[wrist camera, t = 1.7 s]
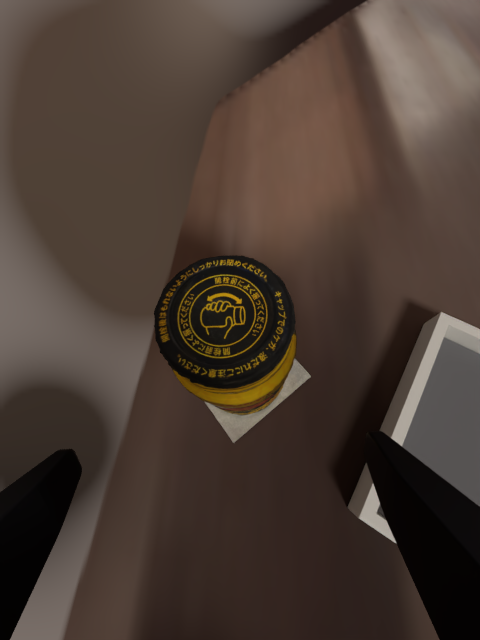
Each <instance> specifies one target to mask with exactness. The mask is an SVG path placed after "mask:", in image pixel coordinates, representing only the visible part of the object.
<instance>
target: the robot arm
mask: <svg viewBox="0 0 480 640" xmlns="http://www.w3.org/2000/svg"><path fill="white" fill-rule="evenodd" d="M364 456H365V460H366V463H367V466H368V469H369V472H370V475H371V478H372V481H373V484H374V487H375V490H376V493H377V496H378V499H379V502H380V505H381V508H382V510H383V513H384V516H385V518H386V521H387V523H388V525H389V528H390V530H391V532H392V534H393V537H394V539H395V541H396V543H397V545H398V548H399V550H400V552H401V554H402V557H403V559H404V561H405V563H406V566H407V568H408V570H409V572H410V575H411V577H412V579H413V581H414V583H415V586H416V588H417V590H418V592H419V595H420V597H421V599H422V601H423V604H424V606H425V608H426V610H427V612H428V615H429V617H430V619H431V621H432V624H433V626H434V628H435V630H436V633H437V635H438V637H439V639H440V640H480V506H478V505H477V504H476V503H475V502H473V501H472V500H471V499H469V498H468V497H467V496H466V495H464V494H463V493H462V492H460V491H459V490H458V489H456V488H455V487H454V486H453V485H451V484H450V483H449V482H447V481H446V480H445V479H444V478H442V477H441V476H440V475H438V474H437V473H436V472H434V471H433V470H432V469H431V468H429V467H428V466H427V465H425V464H424V463H423V462H422V461H420V460H419V459H418V458H416V457H415V456H414V455H412V454H411V453H410V452H409V451H407V450H406V449H405V448H403V447H402V446H401V445H400V444H398V443H397V442H396V441H394V440H393V439H392V438H390V437H389V436H388V435H387V434H385V433H384V432H382V431H369V432H367V434H366V439H365V447H364ZM81 472H82V467H81V464H80V462H79V460H78V458H77V455H76V453H75V451H74V450H72V449H60V450H58V451H56V452H55V453H53V454H52V455H50V456H49V457H48V458H46V459H45V460H44V461H42V462H41V463H39V464H38V465H37V466H36V467H34V468H33V469H31V470H30V471H29V472H27V473H26V474H24V475H23V476H22V477H20V478H19V479H18V480H16V481H15V482H14V483H12V484H11V485H9V486H8V487H7V488H5V489H4V490H3V491H1V492H0V640H10V638H11V636H12V634H13V632H14V630H15V627H16V625H17V623H18V621H19V619H20V617H21V614H22V612H23V610H24V608H25V606H26V604H27V601H28V599H29V597H30V595H31V593H32V591H33V589H34V587H35V584H36V582H37V580H38V578H39V576H40V574H41V572H42V569H43V567H44V565H45V563H46V561H47V559H48V557H49V554H50V552H51V550H52V548H53V546H54V544H55V541H56V539H57V537H58V535H59V532H60V530H61V527H62V525H63V522H64V520H65V517H66V514H67V512H68V509H69V507H70V504H71V501H72V498H73V496H74V493H75V490H76V488H77V484H78V482H79V479H80V477H81Z"/></svg>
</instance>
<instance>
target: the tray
mask: <svg viewBox="0 0 480 640" xmlns="http://www.w3.org/2000/svg"><path fill="white" fill-rule="evenodd" d="M379 431H382V432H384V433H385V434H387V435H388V436H389V437H390V438H392V439H393V440H394V441H396V442H397V443H398V444H400V445H401V446H402V447H403V448H405V449H406V450H407V451H409V452H410V453H411V454H412V455H414V456H415V457H416V458H418V459H419V460H420V461H422V462H423V463H424V464H425V465H427V466H428V467H429V468H431V469H432V470H433V471H434V472H436V473H437V474H438V475H440V476H441V477H442V478H444V479H445V480H446V481H447V482H449V483H450V484H451V485H453V486H454V487H455V488H456V489H458V490H459V491H460V492H462V493H463V494H464V495H466V496H467V497H468V498H469V499H471V500H472V501H473V502H475V503H476V504H477V505H478V506H480V329H478V328H476V327H474V326H471V325H469V324H467V323H465V322H462V321H460V320H458V319H456V318H453V317H451V316H449V315H447V314H444V313H442V312H441V313H439V314H438V315H436V316H435V317H433V318H432V319H430V320H429V321H427V322H426V323H424V325H423V327H422V330H421V332H420V334H419V337H418V339H417V342H416V344H415V346H414V349H413V351H412V354H411V356H410V358H409V361H408V363H407V366H406V368H405V370H404V373H403V375H402V378H401V380H400V382H399V385H398V387H397V390H396V392H395V394H394V397H393V399H392V402H391V404H390V406H389V409H388V411H387V414H386V416H385V418H384V421H383V423H382V426H381V428H380V430H379ZM347 508H348V509H349V510H350V511H351V512H353V513H354V514H355V515H356V516H357V517H358V518H359V519H361V520H362V521H364V522H365V523H367V524H368V525H370V526H371V527H373V528H374V529H376V530H377V531H379V532H380V533H381V534H383V535H384V536H386V537H387V538H389V539H390V540H392V541H393V542H395V543H396V541H395V539H394V537H393V534H392V532H391V530H390V528H389V525H388V523H387V521H386V518H385V516H384V513H383V510H382V508H381V505H380V502H379V499H378V496H377V493H376V490H375V487H374V484H373V481H372V478H371V475H370V472H369V469H368V466H367V463H366V464H365V466H364V469H363V471H362V474H361V476H360V478H359V481H358V483H357V486H356V488H355V490H354V493H353V495H352V498H351V500H350V502H349V505H348V507H347ZM396 544H397V543H396Z"/></svg>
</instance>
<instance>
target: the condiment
mask: <svg viewBox="0 0 480 640" xmlns="http://www.w3.org/2000/svg"><path fill="white" fill-rule="evenodd" d="M154 315H155V326H154V327H155V334H156V341H157V343H158V346H159V348H160V353H161V354H163V356H164V358H165V359H166V360H167V361H168V364H169V365H170V366H171V368H172V370H173V372H174V374H175V376H176V377H177V378H178V380H179V381H180V382H181V384H182V385H183V386H184V387H185V388H186V389H187V390H188V391H189V392H190V393H193V394H194V395H196V396H197V397H198V398H200V399H201V400H203V401H204V402H205V403H206V404H207V406H208V407H209V409H210V410H211V412H212V413H213V414H214V416H215V417H216V419H217V420H218V421H219V423H220V424H221V426H222V427H223V428H224V430H225V431H226V433H227V434H228V436H229V437H230V438H231V440H232V441H233V443H234V442H235V441H237V440H238V439H239V438H240V437H241V436H242V435H244V434H245V433H246V432H247V431H248V430H249V429H251V428H252V427H253V426H254V425H255V424H256V423H258V422H259V421H260V420H261V419H262V418H263V417H265V416H266V415H267V414H268V413H269V412H270V411H271V410H273V409H274V408H275V407H276V406H277V405H278V404H280V403H281V402H282V401H283V400H284V399H285V398H287V397H288V396H289V395H290V394H291V393H292V392H294V391H295V390H296V389H297V388H298V387H299V386H301V385H302V384H303V383H304V382H305V381H306V380H307V379H309V378H310V377H311V376H310V375H309V373H308V372H307V371H306V370H305V369H304V368H303V367H302V366H301V365H300V364H299V363H298V361H297V360H296V359H295V356H296V346H297V341H296V331H295V313H294V306H293V302H292V300H291V297H290V295H289V293H288V291H287V289H286V286H285V284H284V283H283V281H282V280H281V279H280V278H279V277H278V276H277V275H276V274H275V273H273V272H272V271H271V270H270V269H269V268H268V267H267V266H265V265H264V264H262V263H260V262H258V261H256V260H254V259H252V258H248V257H245V256H218V257H211V258H205V259H201V260H199V261H197V262H195V263H193V264H191V265H189V266H188V267H187V268H186V269H184V270H182V271H180V272H179V273H178V274H177V275H176V276H175V277H174V278H173V279H172V280H171V281H170V282H169V283H168V284H167V285H166V287H165V288H164V289H163V292H162V294H161V297H160V299H159V301H158V304H157V306H156V308H155V311H154Z"/></svg>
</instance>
